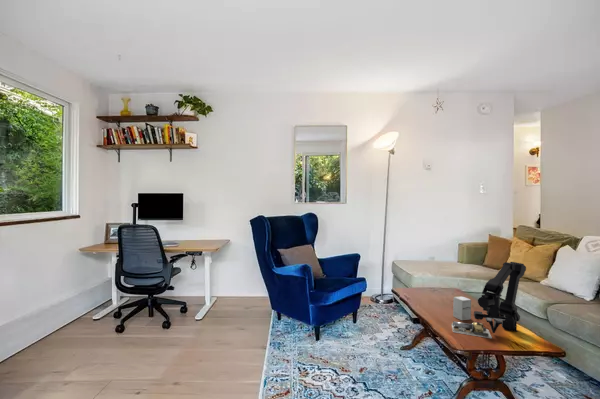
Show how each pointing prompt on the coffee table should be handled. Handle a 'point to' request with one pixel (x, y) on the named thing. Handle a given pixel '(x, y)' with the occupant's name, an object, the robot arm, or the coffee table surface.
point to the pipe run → (469, 330)
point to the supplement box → (462, 308)
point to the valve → (478, 326)
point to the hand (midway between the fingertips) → (493, 332)
